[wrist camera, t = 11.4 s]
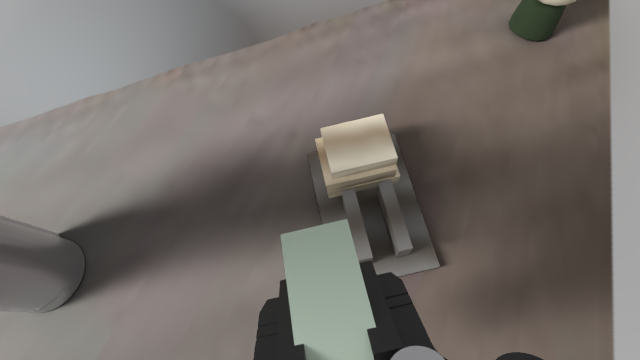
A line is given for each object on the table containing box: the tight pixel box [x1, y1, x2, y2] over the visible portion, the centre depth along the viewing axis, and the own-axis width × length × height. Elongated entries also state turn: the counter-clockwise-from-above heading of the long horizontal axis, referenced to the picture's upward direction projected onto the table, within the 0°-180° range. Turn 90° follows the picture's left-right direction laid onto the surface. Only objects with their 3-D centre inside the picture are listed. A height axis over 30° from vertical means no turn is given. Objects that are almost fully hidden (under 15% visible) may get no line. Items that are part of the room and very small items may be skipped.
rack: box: [307, 114, 440, 277], centre depth 40 cm, size 18×12×7 cm, turn 12°
